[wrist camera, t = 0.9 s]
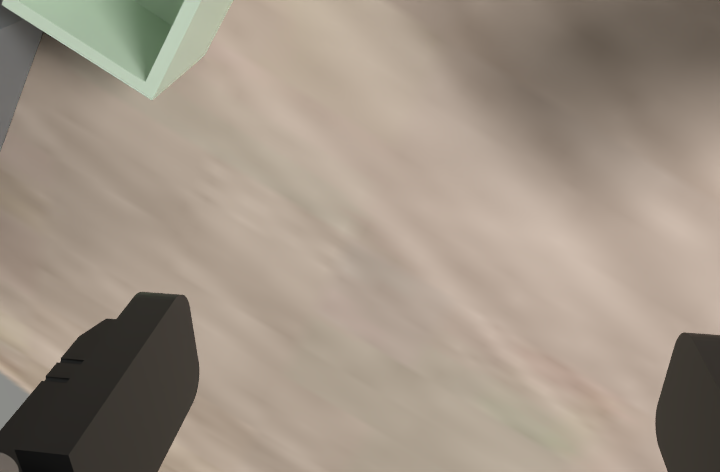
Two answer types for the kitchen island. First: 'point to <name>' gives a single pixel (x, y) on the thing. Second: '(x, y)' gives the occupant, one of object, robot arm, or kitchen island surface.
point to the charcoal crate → (14, 62)
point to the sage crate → (131, 34)
